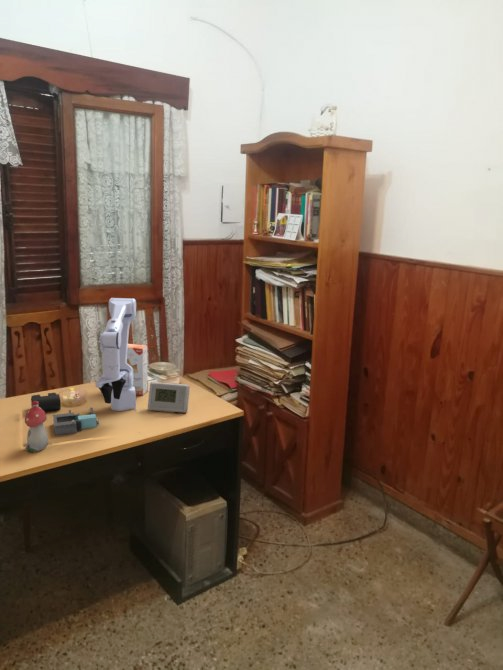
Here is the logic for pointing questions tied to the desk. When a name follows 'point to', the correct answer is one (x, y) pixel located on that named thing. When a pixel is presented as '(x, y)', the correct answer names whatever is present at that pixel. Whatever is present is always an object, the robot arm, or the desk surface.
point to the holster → (90, 411)
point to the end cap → (48, 402)
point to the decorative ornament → (36, 428)
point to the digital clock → (168, 397)
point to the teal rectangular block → (88, 421)
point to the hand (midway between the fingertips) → (112, 400)
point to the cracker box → (138, 367)
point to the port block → (66, 424)
